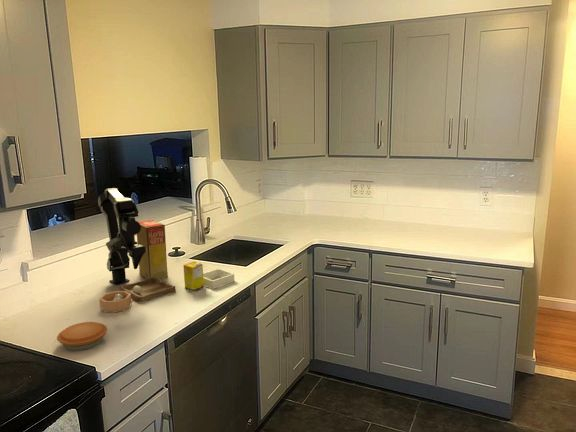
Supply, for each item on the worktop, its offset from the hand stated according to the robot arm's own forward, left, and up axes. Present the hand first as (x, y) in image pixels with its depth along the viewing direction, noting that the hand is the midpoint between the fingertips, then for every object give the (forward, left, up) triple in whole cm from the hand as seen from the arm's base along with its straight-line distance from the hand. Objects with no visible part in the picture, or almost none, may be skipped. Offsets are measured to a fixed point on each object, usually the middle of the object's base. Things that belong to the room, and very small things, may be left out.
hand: (129, 266), depth 196 cm
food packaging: (-15, +19, -13) cm, 27 cm away
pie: (+26, -32, -13) cm, 43 cm away
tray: (+2, +6, -12) cm, 14 cm away
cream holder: (+14, +33, -12) cm, 38 cm away
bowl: (+6, -10, -12) cm, 18 cm away
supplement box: (+13, +22, -13) cm, 29 cm away
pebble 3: (+2, +1, -10) cm, 10 cm away
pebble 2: (+8, -11, -10) cm, 17 cm away
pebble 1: (+5, -9, -10) cm, 14 cm away
